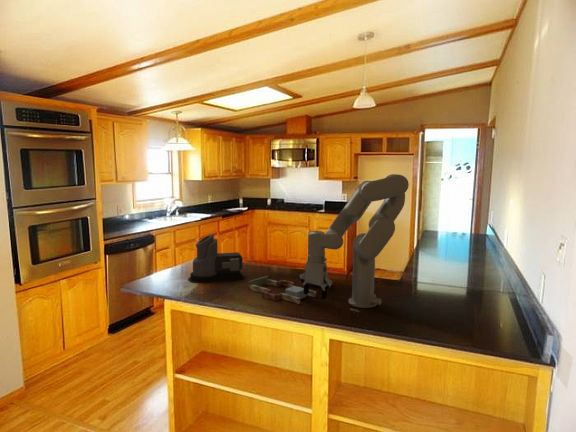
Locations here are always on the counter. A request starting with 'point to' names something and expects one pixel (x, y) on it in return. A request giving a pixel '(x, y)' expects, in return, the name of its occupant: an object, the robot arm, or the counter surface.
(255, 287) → the trap channel
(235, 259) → the juicer
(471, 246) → the counter surface
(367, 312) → the counter surface
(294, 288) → the gray block
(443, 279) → the counter surface
